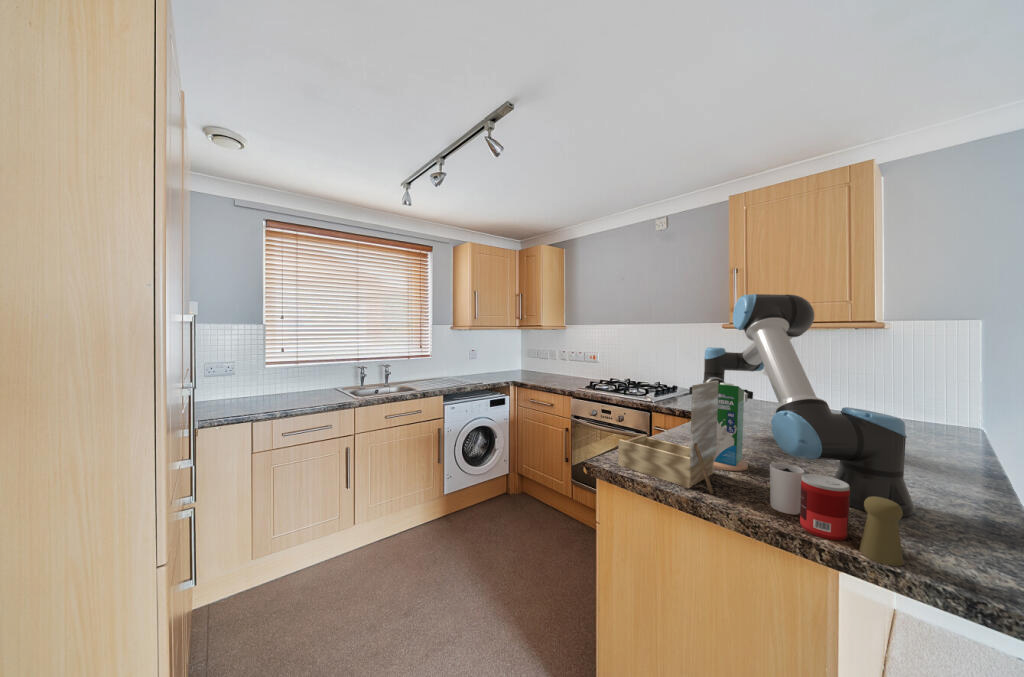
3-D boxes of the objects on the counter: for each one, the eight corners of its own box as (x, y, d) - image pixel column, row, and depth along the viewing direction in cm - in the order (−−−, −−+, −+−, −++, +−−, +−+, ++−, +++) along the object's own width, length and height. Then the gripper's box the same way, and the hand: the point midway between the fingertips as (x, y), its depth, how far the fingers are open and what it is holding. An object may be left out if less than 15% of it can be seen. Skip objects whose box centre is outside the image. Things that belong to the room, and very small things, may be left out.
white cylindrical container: (763, 500, 93) (764, 461, 93) (793, 503, 92) (794, 464, 92) (776, 513, 87) (778, 471, 87) (808, 516, 85) (810, 474, 85)
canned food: (858, 542, 75) (860, 488, 75) (818, 540, 76) (820, 487, 75) (827, 522, 83) (828, 474, 83) (791, 521, 83) (792, 473, 83)
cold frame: (734, 479, 107) (737, 382, 106) (711, 496, 96) (715, 388, 95) (645, 454, 128) (647, 373, 127) (618, 465, 116) (620, 376, 116)
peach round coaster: (753, 464, 119) (753, 461, 119) (739, 474, 110) (739, 470, 110) (710, 454, 129) (710, 450, 129) (694, 462, 120) (694, 458, 120)
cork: (852, 551, 72) (854, 495, 72) (869, 544, 75) (871, 490, 74) (894, 569, 67) (896, 509, 66) (910, 561, 69) (912, 503, 69)
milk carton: (742, 459, 120) (744, 383, 120) (735, 466, 114) (738, 385, 113) (711, 452, 126) (713, 380, 126) (703, 459, 120) (706, 382, 119)
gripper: (752, 400, 142) (765, 410, 122) (681, 394, 152) (682, 403, 132) (753, 380, 141) (766, 388, 122) (682, 376, 151) (683, 382, 132)
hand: (722, 396), depth 127 cm, fingers open, 13 cm apart
